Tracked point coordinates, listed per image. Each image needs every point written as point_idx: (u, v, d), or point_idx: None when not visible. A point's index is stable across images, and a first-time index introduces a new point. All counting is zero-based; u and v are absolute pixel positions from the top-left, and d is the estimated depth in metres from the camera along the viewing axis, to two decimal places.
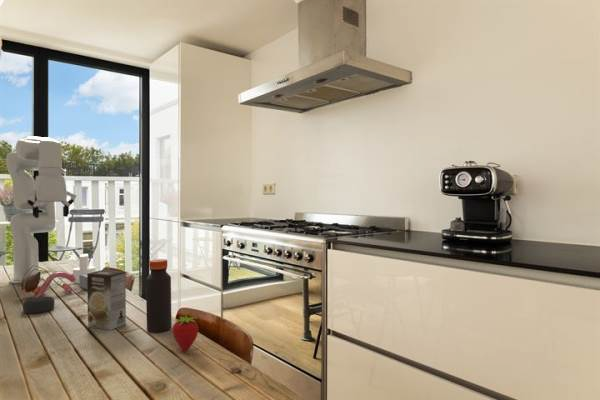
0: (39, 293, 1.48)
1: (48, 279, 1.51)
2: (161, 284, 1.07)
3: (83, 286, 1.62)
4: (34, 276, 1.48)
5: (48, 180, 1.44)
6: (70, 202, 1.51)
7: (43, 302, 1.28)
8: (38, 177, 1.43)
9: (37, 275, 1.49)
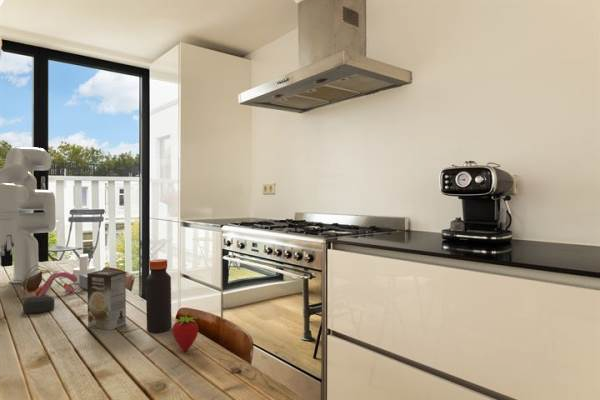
0: (41, 293, 1.48)
1: (50, 279, 1.51)
2: (161, 284, 1.07)
3: (83, 286, 1.62)
4: (36, 276, 1.48)
5: None
6: None
7: (43, 302, 1.28)
8: (12, 222, 1.40)
9: (39, 275, 1.49)
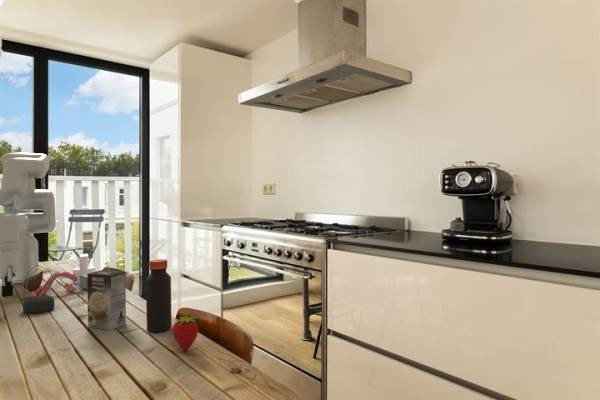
0: (41, 293, 1.49)
1: (50, 279, 1.52)
2: (161, 284, 1.07)
3: (83, 286, 1.62)
4: (36, 276, 1.48)
5: None
6: None
7: (43, 302, 1.28)
8: (13, 252, 1.40)
9: (39, 275, 1.49)
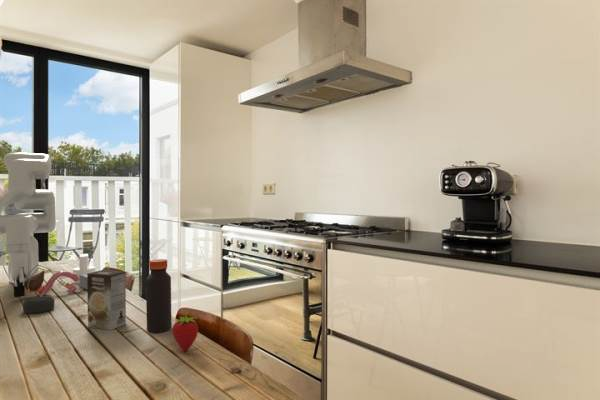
0: (43, 292, 1.49)
1: (52, 278, 1.52)
2: (161, 284, 1.07)
3: (83, 286, 1.62)
4: (38, 275, 1.49)
5: None
6: None
7: (43, 302, 1.28)
8: (24, 254, 1.43)
9: (41, 274, 1.50)
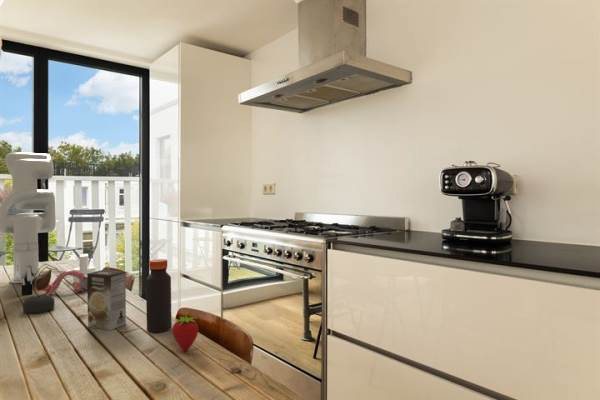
0: (50, 291, 1.51)
1: (59, 277, 1.54)
2: (161, 284, 1.07)
3: (83, 286, 1.62)
4: (45, 274, 1.51)
5: None
6: None
7: (43, 302, 1.28)
8: (32, 253, 1.45)
9: (48, 273, 1.51)
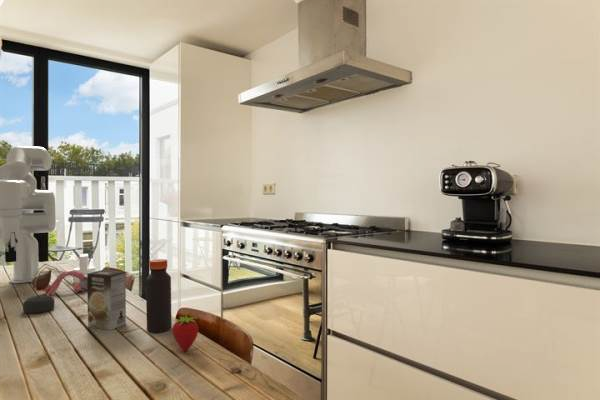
0: (50, 291, 1.51)
1: (59, 278, 1.54)
2: (161, 284, 1.07)
3: (83, 286, 1.62)
4: (45, 275, 1.51)
5: None
6: None
7: (43, 302, 1.28)
8: (16, 219, 1.41)
9: (48, 274, 1.51)
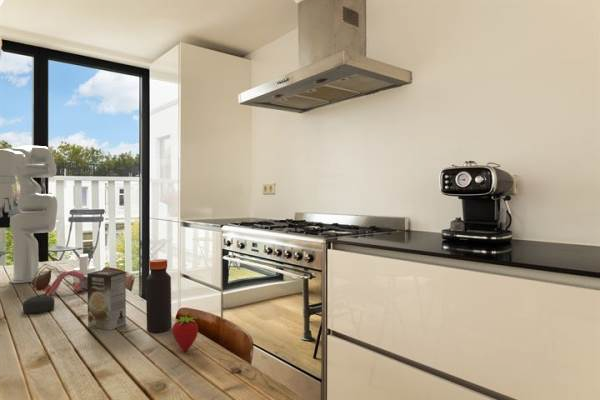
0: (50, 291, 1.51)
1: (59, 278, 1.54)
2: (161, 284, 1.07)
3: (83, 286, 1.62)
4: (45, 274, 1.51)
5: None
6: None
7: (43, 302, 1.28)
8: (9, 185, 1.48)
9: (48, 274, 1.51)
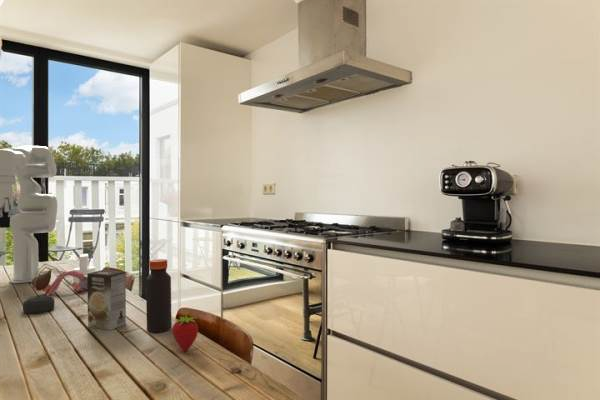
0: (50, 291, 1.51)
1: (58, 277, 1.54)
2: (161, 284, 1.07)
3: (83, 286, 1.62)
4: (45, 274, 1.51)
5: None
6: None
7: (43, 302, 1.28)
8: (9, 185, 1.48)
9: (48, 273, 1.51)
